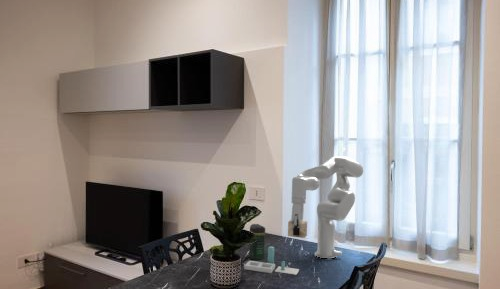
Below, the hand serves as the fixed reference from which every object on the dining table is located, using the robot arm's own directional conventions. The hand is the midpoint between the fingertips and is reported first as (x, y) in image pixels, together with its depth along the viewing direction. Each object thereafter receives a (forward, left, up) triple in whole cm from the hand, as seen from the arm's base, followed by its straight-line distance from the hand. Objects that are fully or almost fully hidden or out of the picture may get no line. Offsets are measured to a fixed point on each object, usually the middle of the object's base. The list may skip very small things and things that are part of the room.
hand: (297, 233), depth 187 cm
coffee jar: (+23, -2, -17) cm, 29 cm away
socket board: (+16, +15, -17) cm, 28 cm away
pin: (+13, +5, -17) cm, 22 cm away
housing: (0, 0, -1) cm, 1 cm away
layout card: (+2, +12, -17) cm, 21 cm away
